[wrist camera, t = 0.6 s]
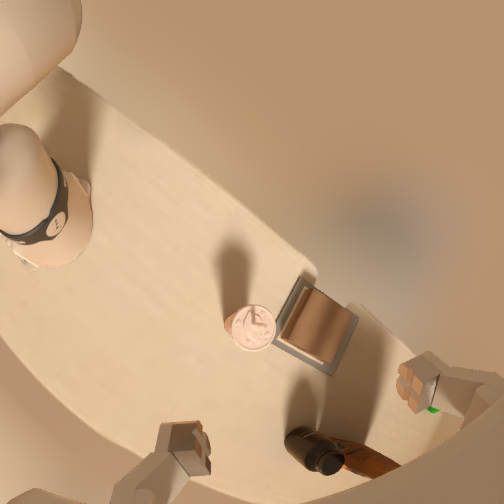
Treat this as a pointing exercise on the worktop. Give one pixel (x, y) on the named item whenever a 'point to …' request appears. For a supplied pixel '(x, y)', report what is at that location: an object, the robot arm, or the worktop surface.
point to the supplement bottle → (314, 451)
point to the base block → (317, 326)
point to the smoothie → (251, 327)
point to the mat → (298, 353)
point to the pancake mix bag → (364, 459)
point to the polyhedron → (433, 409)
